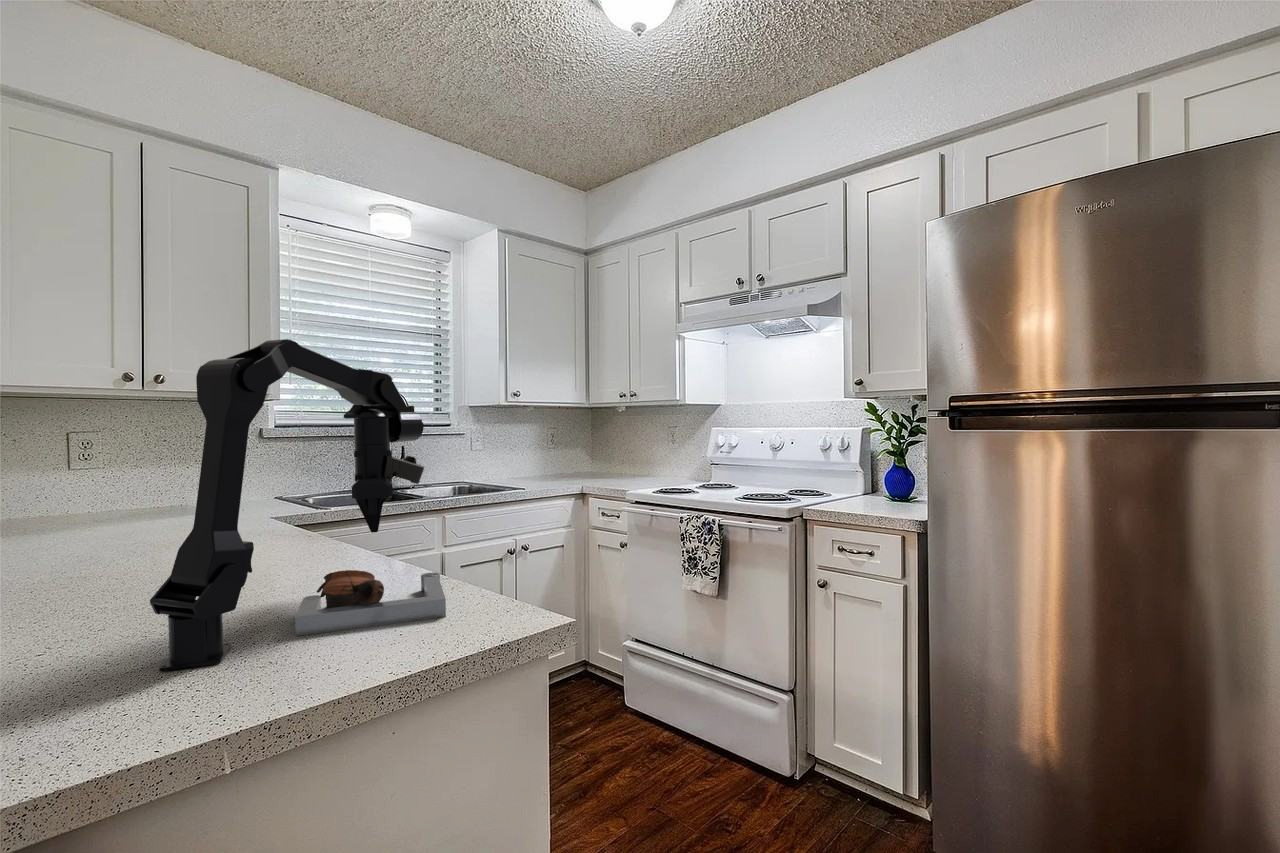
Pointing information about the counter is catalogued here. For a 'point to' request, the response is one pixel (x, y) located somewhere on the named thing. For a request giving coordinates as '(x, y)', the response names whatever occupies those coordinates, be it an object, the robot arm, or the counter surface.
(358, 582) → the pottery mug
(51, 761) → the counter surface
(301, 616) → the hook
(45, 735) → the counter surface
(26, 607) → the counter surface
